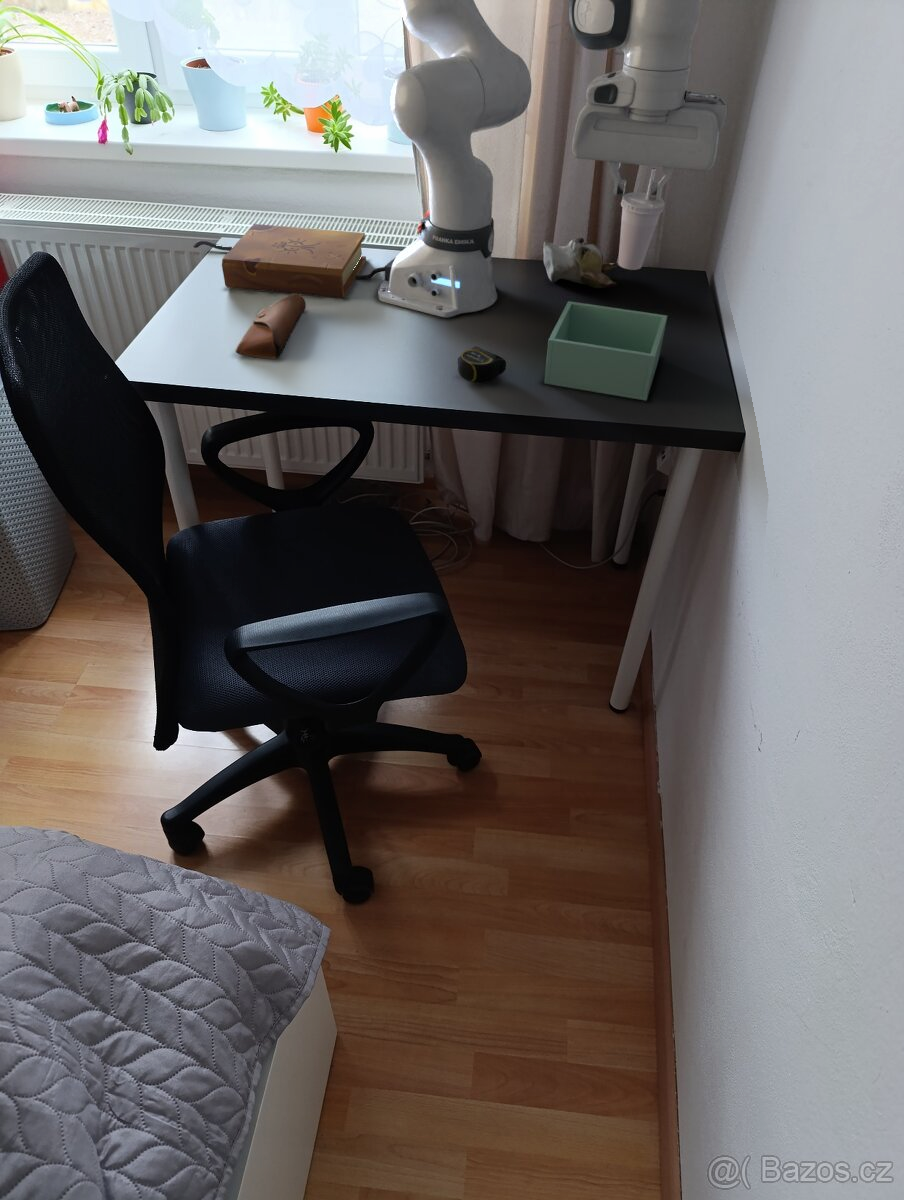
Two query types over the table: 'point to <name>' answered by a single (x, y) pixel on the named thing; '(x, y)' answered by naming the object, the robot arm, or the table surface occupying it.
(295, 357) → the table surface
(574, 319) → the green open storage box
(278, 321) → the sunglasses case
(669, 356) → the table surface
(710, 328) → the table surface
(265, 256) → the diary
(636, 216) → the smoothie
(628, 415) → the table surface
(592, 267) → the ceramic sculpture
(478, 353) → the tape measure
